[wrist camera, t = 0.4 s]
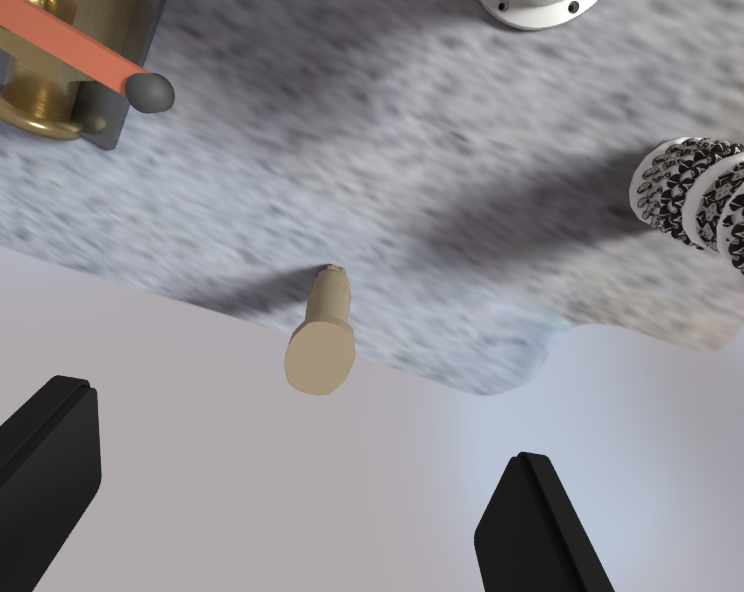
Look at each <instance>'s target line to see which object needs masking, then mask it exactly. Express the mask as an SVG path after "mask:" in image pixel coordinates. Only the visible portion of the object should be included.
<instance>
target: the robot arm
mask: <svg viewBox="0 0 744 592" xmlns="http://www.w3.org/2000/svg"><path fill="white" fill-rule="evenodd" d="M479 1H480V3H481V4H482V5H483V7H484V8H485V9H486V10H487V11H488V12H489V13H490V14H491V15H493V16H494V17H495V18H496V19H497V20H499V21H501V22H503V23H505V24H507V25H508V26H511V27H514V28H518V29H522V30H543V29H548V28H553V27H556V26H559V25H562V24H565V23H567V22H569V21H571V20H573V19H575V18H577V17H579V16H580V15H582V14H583V13H584V12H586V11H587V10H588V9H589V8H591V7H592V6H593V5H594V4H595V3H596V2H597V1H598V0H479ZM500 3H501V4H503V7H504V8H503V10H502V11H501V10H499V9H498V6H499V4H500ZM569 5H570V6H571V7H572V10H571V12H569V11H568V6H569ZM101 476H102V475H101V457H100V437H99V420H98V401H97V391H96V389H95V388H90V384H89V382H88V380H84V379H78V378H72V377H66V376H60V375H57V376H54V377H53V378H51V379H50V380H49V381H48V382H47V383H46V384H45V385H44V386H43V387H42V388H41V389H39V390H38V391H37V392H36V393H35V394H34V395H33V396H32V397H31V398H30V399H29V400H28V401H27V402H26V403H25V404H24V405H22V406H21V407H20V408H19V409H18V410H17V411H16V412H15V413H14V414H13V415H12V416H11V417H10V418H9V419H8V420H7V421H5V422H4V423H3V424H2V425H1V426H0V592H32V591H33V590H34V588H35V587H36V585H37V583H38V582H39V581H40V579H41V577H42V576H43V574H44V573H45V571H46V570H47V568H48V567H49V565H50V563H51V562H52V561H53V559H54V558H55V556H56V555H57V553H58V552H59V550H60V548H61V547H62V545H63V544H64V542H65V541H66V539H67V538H68V536H69V534H70V533H71V532H72V530H73V529H74V527H75V526H76V524H77V522H78V521H79V519H80V518H81V516H82V515H83V513H84V512H85V510H86V509H87V507H88V505H89V504H90V503H91V501H92V500H93V498H94V496H95V495H96V493H97V491H98V489H99V486H100V483H101ZM474 546H475V551H476V555H477V559H478V564H479V567H480V572H481V576H482V580H483V585H484V589H485V592H615V591H614V589H613V587H612V585H611V583H610V581H609V579H608V577H607V575H606V573H605V571H604V569H603V567H602V564H601V562H600V560H599V558H598V556H597V554H596V552H595V550H594V548H593V546H592V544H591V542H590V540H589V538H588V536H587V534H586V532H585V530H584V528H583V526H582V524H581V522H580V520H579V518H578V516H577V514H576V512H575V510H574V508H573V506H572V504H571V502H570V500H569V498H568V496H567V494H566V492H565V490H564V488H563V485H562V483H561V481H560V480H559V477H558V475H557V473H556V471H555V470H554V467H553V465H552V464H551V461H550V460H549V458H548V457H547V456H545V455H540V454H534V453H527V452H520V453H519V454H518V455H517V457H512V458H511V459H510V461H509V463H508V465H507V467H506V469H505V471H504V473H503V475H502V477H501V479H500V481H499V483H498V485H497V487H496V489H495V491H494V493H493V495H492V497H491V500H490V502H489V504H488V506H487V508H486V510H485V512H484V514H483V516H482V518H481V520H480V522H479V524H478V526H477V528H476V531H475V535H474Z"/></svg>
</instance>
